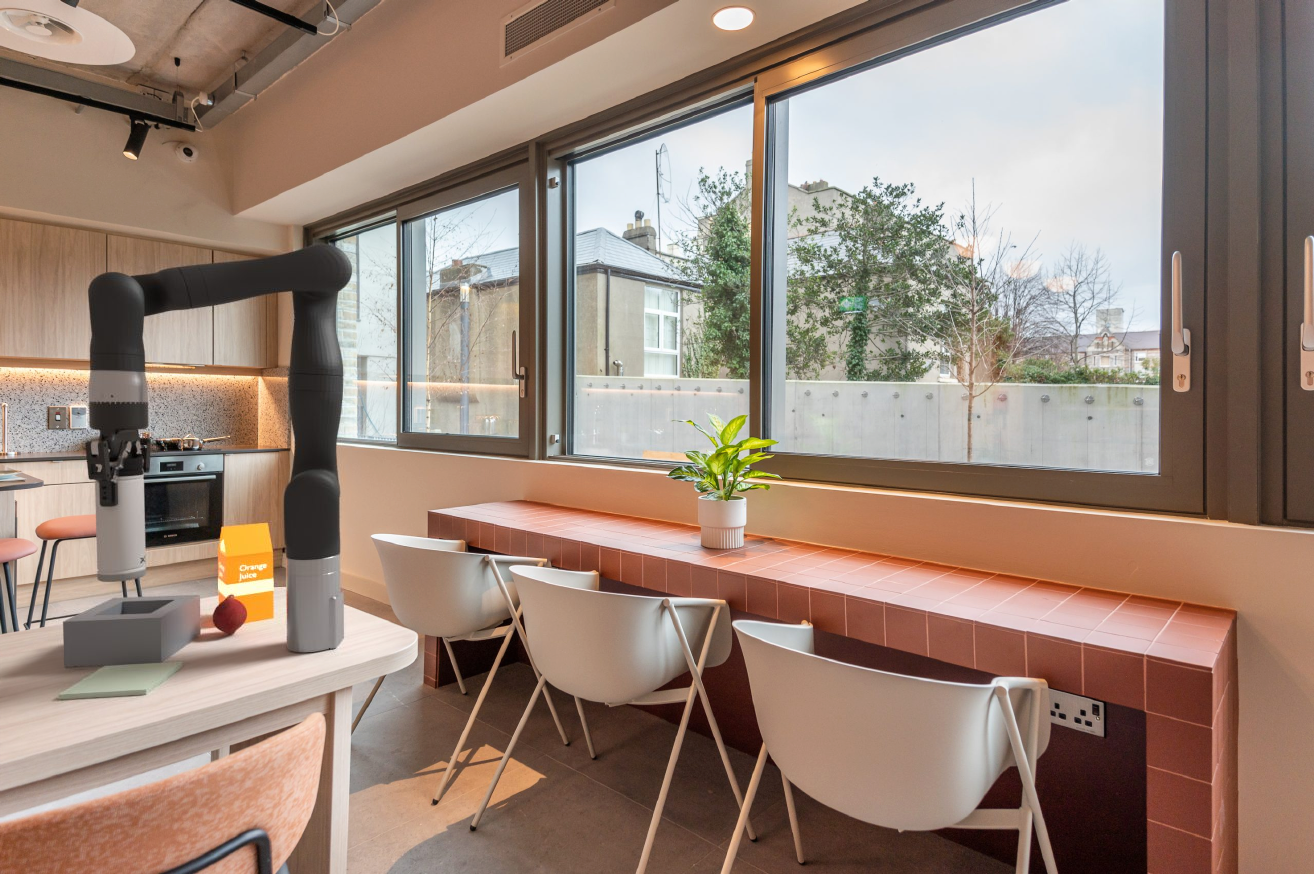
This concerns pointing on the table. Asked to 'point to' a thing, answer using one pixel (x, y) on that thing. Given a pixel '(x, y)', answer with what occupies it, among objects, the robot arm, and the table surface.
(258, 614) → the orange juice
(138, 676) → the mat
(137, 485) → the travel mug
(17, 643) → the table surface
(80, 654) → the holder
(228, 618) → the onion
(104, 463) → the robot arm
